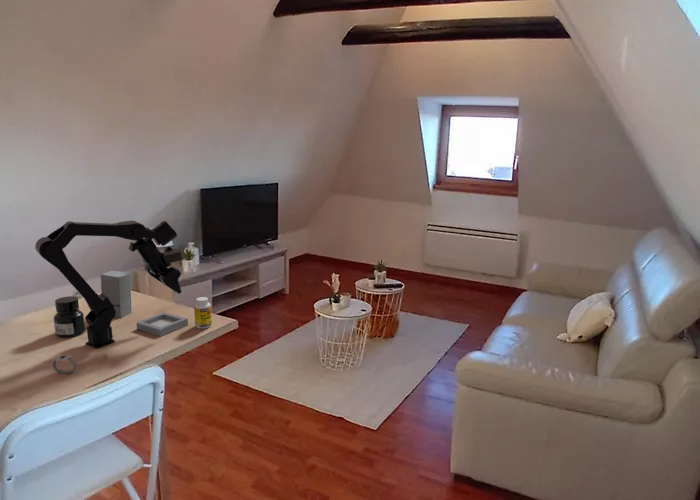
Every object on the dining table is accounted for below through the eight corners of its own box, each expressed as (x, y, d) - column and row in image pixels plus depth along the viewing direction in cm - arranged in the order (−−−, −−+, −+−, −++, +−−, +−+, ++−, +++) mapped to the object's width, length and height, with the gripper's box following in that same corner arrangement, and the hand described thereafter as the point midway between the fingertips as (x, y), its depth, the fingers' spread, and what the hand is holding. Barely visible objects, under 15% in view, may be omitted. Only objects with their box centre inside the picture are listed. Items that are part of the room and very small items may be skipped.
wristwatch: (79, 370, 154) (77, 354, 152) (74, 375, 151) (72, 359, 150) (57, 371, 153) (55, 355, 152) (52, 375, 151) (50, 359, 149)
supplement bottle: (200, 330, 183) (198, 302, 181) (192, 326, 187) (190, 298, 185) (214, 326, 187) (213, 298, 184) (206, 322, 191) (205, 295, 188)
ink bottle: (49, 334, 178) (44, 301, 175) (73, 326, 186) (69, 293, 183) (67, 340, 174) (63, 306, 171) (91, 331, 182) (87, 298, 179)
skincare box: (102, 316, 196) (97, 274, 192) (115, 309, 202) (111, 269, 198) (121, 318, 193) (117, 276, 189) (134, 312, 200) (130, 271, 196)
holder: (160, 336, 178) (160, 329, 177) (136, 329, 184) (136, 322, 183) (188, 324, 188) (187, 318, 187) (164, 318, 194) (164, 312, 193)
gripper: (181, 245, 173) (205, 281, 181) (161, 235, 187) (183, 269, 195) (152, 265, 168) (178, 302, 176) (133, 253, 183) (157, 288, 190)
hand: (175, 289), depth 185 cm, fingers open, 9 cm apart
